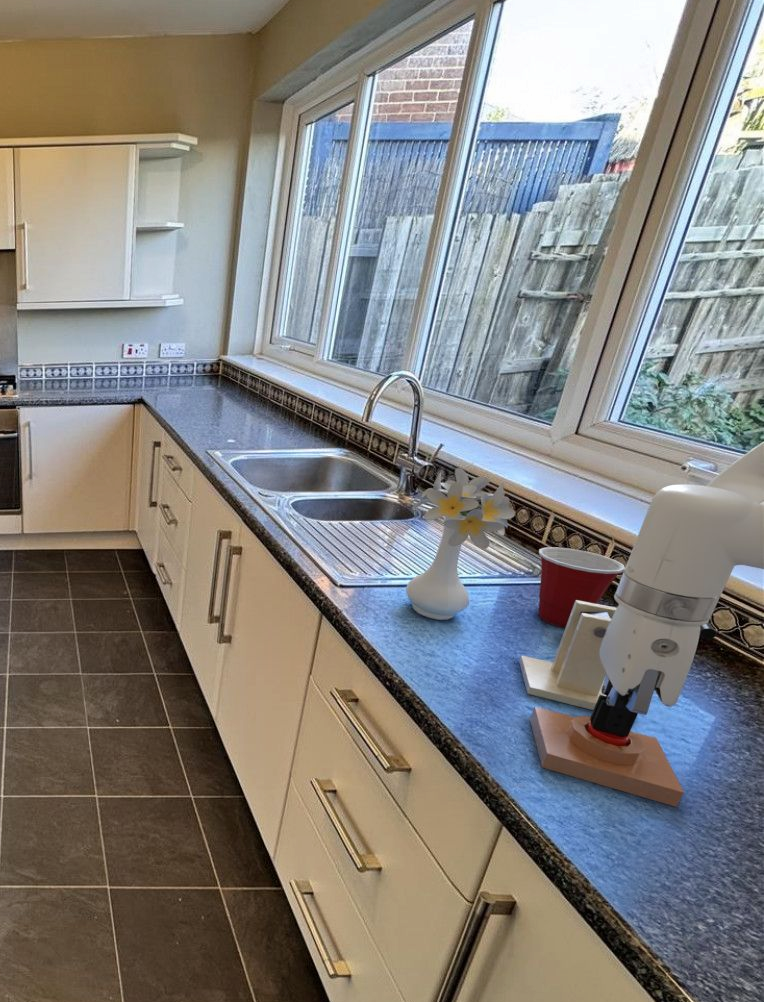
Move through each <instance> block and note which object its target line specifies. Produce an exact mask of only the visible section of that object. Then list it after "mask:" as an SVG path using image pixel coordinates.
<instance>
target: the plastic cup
mask: <svg viewBox="0 0 764 1002" xmlns="http://www.w3.org/2000/svg"><path fill="white" fill-rule="evenodd" d="M538 555H539V557H540V561H541V563H540V565H541V572H540V573H541V575H540V582H539V583H540V585H539V594H538V595H539V597H538V598H539V600H538V601H539V602H538V617H539V618H540V619H541V620H543V621H545V622H546V623H548V624H551V625H553V626H556V627H559V628H560V627H561V628H564V629H565V628H566V625H567V623H568V620H569V617H570V614H571V612H572V609H573V606H574V603H575V601H576V600H578V601H584V602H589V603H594V604H599V602H600V600H601V599H602V597H603V596H604V594H606V591H607V590H608V589H609V587H610V585H612V584H613V582H614V580H615V579H617V577H618V575H620V574H621V573H623V572H624V570H625V567H626V566H625V565H624V564H623V563H621V562H619V561H618V560H617V559H613V558H610V557H608V556H605V555H601V554H597V553H594V552H589V551H587V550H586V551H585V550H580V549H574V548H569V547H568V548H567V547H556V546H553V547H552V546H551V547H550V546H549V547H542V548H539V549H538Z"/></svg>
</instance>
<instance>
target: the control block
mask: <svg viewBox="0 0 764 1002" xmlns="http://www.w3.org/2000/svg"><path fill="white" fill-rule="evenodd" d="M590 717H591V715H577V716H573V715H569V714H565V713H562V712H558V711H554V710H550V709H546V708H542V707H539V706H534V707H533V709H532V712H531V716H530V718H529V722H530V726H531V729H532V733H533V737H534V741H535V746H536V749H537V753H538V758H539V761H540V765H541V768H543V769H547V770H550V771H553V772H555V773H560V774H564V775H566V776H570V777H573V778H576V779H580V780H582V781H587V782H591V783H594V784H596V785H597V784H598V785H600V786H602V787H603V786H604V787H606V788H611V789H615V790H617V791H621V792H624V793H628V794H631V795H634V796H637V797H641V798H645V799H647V800H650V801H651V800H652V801H654V802H657V803H661V804H665V805H667V806H668V805H669V806H672V807H675V808H678V806H679V805H680V802H681V800H682V798H683V796H684V794H685V791H684V790H683V787H682V785H681V783H680V781H679V780H678V778H677V776H676V773H675V771H674V770H673V767H672V766H671V764H670V762H669V760H668V758H667V755H666V754H665V752H664V750H663V748H662V746H661V744H660V742H659V740H658V738H657V737H654V736H650V735H646V734H642V733H639V732H635V731H632V730H631V731H630V733H629V740H628V742H627V744H626V746H615V745H612V744H608V743H605V742H603V741H601V740H599V739H597V738H595V737H593V736H592V735H591V734H590V733H588V732H587V731H586V730H587V728H588V725H589V723H590V722H591V721H590Z"/></svg>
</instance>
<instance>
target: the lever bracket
mask: <svg viewBox="0 0 764 1002" xmlns="http://www.w3.org/2000/svg"><path fill="white" fill-rule="evenodd" d="M616 609H617V607H616V606H609V605H604V604H599V603H597V604H594V603H589V602H584V601H578V600H576V601H575V603H574V606H573V609H572V612H571V614H570V617H569V620H568V623H567V625H566V628H564V631H563V634H562V636H561V639H560V642H559V645H558V648H557V650H556V653H555V656H554V658H553V661H549V660H544V659H540V658H535V657H530V656H527V655H520V658H519V661H518V663H519V666H520V670H521V674H522V678H523V682H524V685H525V690H526V693H527V694H528V695H530V696H531V695H532V696H535V697H539V698H542V699H546V700H547V699H548V700H551V701H554V702H559V703H562V704H568V705H571V706H574V707H579V708H583V709H587V710H591V711H593V710H594V708H595V705H596V703H597V700H598V698H599V696H600V695H603V694H602V692H601V690H602V686H603V683H604V680H605V677H606V674H607V673H606V671H605V668H604V666H603V664H602V662H601V659H600V647H601V644H602V641H603V638H604V635H605V633H606V630H607V628H608V626H609V623H610V621H611V618H612V617H613V615H614V613H615V611H616ZM580 612H608V614H609V616H610V618H606V617H601V616H596V615H590V614H585V613H582V614H580ZM603 696H606V695H603Z"/></svg>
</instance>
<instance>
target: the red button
mask: <svg viewBox="0 0 764 1002" xmlns="http://www.w3.org/2000/svg"><path fill="white" fill-rule="evenodd" d="M586 731H587V732H588V733H590V734H591V735H592V736H593V737H595V738H597V739H599V740H601V741H603V742H605V743H608V744H612V745H615V746H626V744H627V742H628V740H629V735H628V736H627V737H621V736H617V735H613V734H610V733H606V732H602V731H598V730H595V729H594V728H593V726H592V723H591V722H590V723H589V725H588V728H587V730H586Z"/></svg>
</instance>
